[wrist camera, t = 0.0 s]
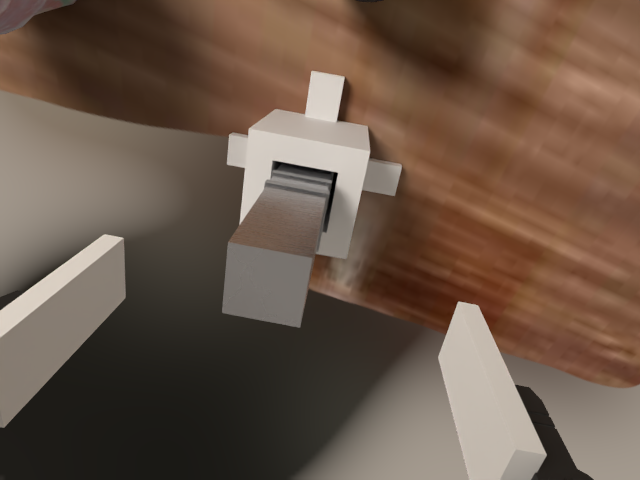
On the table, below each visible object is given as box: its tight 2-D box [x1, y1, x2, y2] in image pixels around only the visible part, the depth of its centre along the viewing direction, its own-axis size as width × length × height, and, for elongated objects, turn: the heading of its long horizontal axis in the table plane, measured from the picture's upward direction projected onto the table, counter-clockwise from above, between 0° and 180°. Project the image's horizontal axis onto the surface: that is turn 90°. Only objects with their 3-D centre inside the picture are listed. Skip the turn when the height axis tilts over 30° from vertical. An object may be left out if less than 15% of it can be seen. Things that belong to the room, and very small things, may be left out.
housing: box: [227, 71, 402, 259], centre depth 38 cm, size 17×17×11 cm
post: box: [222, 162, 334, 328], centre depth 32 cm, size 4×4×24 cm
